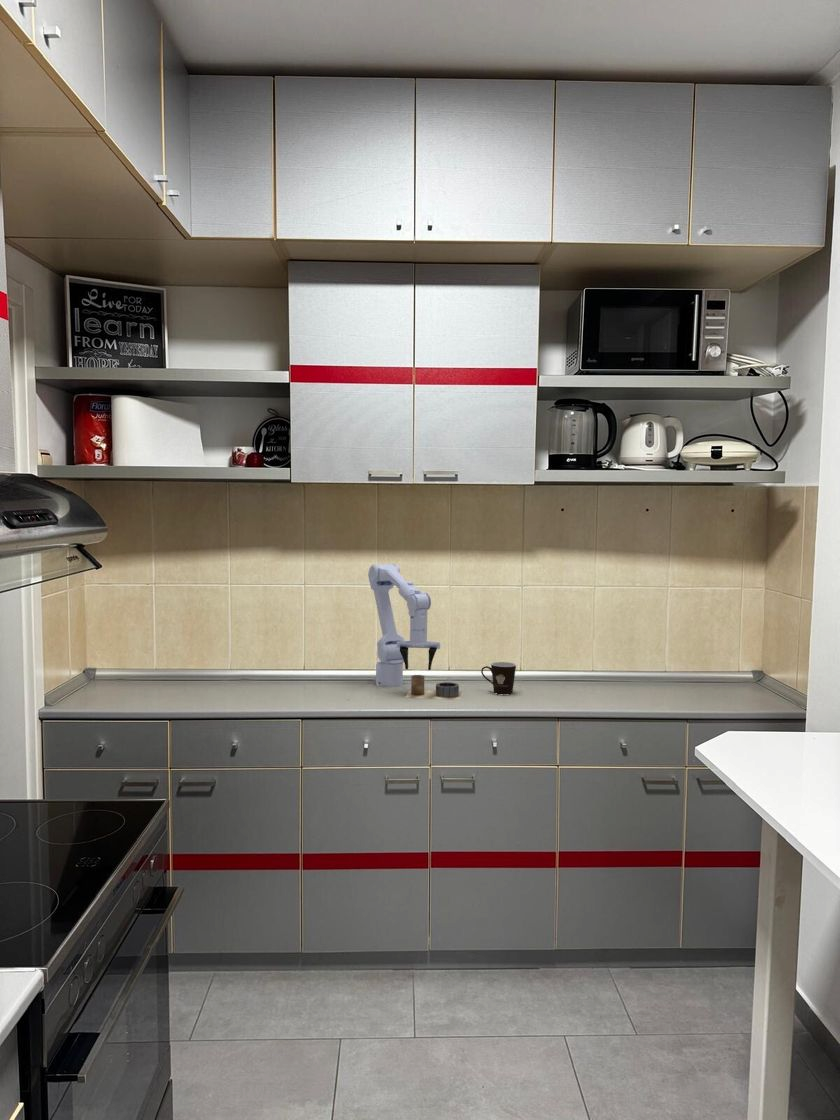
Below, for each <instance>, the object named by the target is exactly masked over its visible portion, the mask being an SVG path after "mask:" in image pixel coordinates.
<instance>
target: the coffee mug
mask: <svg viewBox="0 0 840 1120" xmlns="http://www.w3.org/2000/svg"><path fill="white" fill-rule="evenodd" d="M490 665H491V667H490V666H488V665H486V666H483V667H482V668H481V670H480V673H481V675H482V677H484V679H485V680H486V681H488V682H489V683H491V685H492V687H493V694H495V693H497V694H496V695H498V694H510V695H512V694H513V691H514V683H515V676H516V670H517V669H516V668H517V664H516V663H514V662H509V661H497V662H495V661H494V662H492V663H491V664H490ZM484 669H488V670H490V672H491V677H492V680H490V679H489V678H488V677H487V676H486V675H485V674H484ZM511 693H512V694H511Z"/></svg>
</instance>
